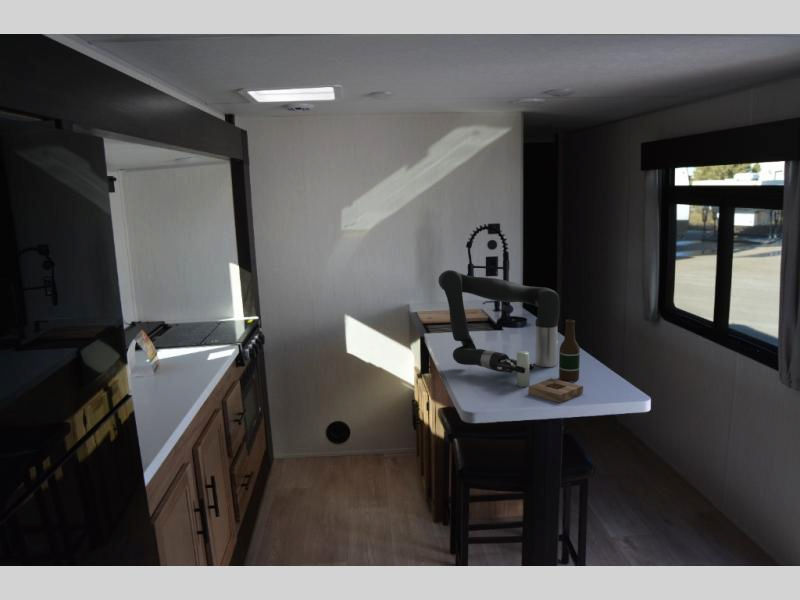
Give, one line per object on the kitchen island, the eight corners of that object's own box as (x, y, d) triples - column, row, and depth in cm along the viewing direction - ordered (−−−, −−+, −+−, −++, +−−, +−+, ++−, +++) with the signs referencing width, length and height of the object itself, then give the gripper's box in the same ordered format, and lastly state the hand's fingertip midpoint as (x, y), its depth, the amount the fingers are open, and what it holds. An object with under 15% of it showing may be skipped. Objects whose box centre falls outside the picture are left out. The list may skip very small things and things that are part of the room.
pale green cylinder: (521, 382, 241) (521, 350, 239) (531, 385, 237) (531, 352, 235) (514, 385, 238) (514, 352, 236) (524, 387, 234) (524, 354, 232)
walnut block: (551, 385, 236) (551, 378, 236) (582, 393, 226) (583, 386, 225) (528, 394, 227) (528, 386, 227) (560, 402, 217) (560, 394, 216)
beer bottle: (580, 382, 239) (581, 322, 235) (559, 381, 241) (560, 322, 237) (578, 376, 247) (579, 318, 243) (558, 376, 248) (559, 318, 244)
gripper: (482, 355, 242) (517, 363, 229) (506, 348, 251) (540, 356, 238) (482, 373, 243) (517, 382, 230) (506, 366, 252) (540, 374, 240)
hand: (528, 369), depth 235 cm, fingers closed on pale green cylinder, 4 cm apart
